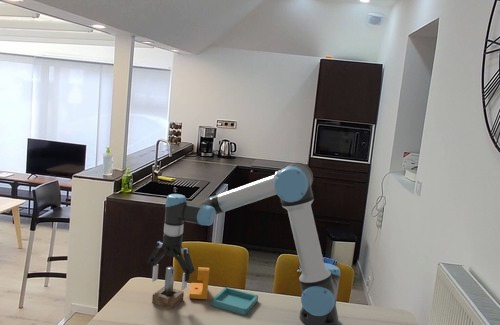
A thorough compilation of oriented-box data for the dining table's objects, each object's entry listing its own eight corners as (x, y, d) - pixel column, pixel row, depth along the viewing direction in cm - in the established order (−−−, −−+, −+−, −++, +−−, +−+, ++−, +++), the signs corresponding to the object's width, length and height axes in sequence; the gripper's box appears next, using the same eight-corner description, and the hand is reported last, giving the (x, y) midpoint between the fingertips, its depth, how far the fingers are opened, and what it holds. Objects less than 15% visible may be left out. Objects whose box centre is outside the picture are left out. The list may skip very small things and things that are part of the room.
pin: (173, 300, 184) (176, 267, 182) (169, 303, 181) (172, 270, 179) (166, 298, 186) (168, 265, 183) (161, 301, 182) (164, 268, 180)
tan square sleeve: (183, 299, 186) (183, 291, 186) (171, 308, 178) (172, 300, 177) (163, 294, 189) (164, 286, 189) (152, 302, 181) (152, 294, 180)
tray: (257, 301, 192) (258, 295, 191) (245, 315, 179) (246, 309, 178) (225, 292, 197) (225, 286, 196) (211, 305, 184) (211, 299, 183)
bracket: (190, 288, 197) (192, 262, 195) (207, 289, 198) (209, 263, 196) (189, 300, 186) (191, 272, 185) (206, 301, 187) (209, 273, 185)
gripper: (205, 237, 178) (201, 288, 182) (151, 224, 186) (147, 273, 190) (197, 242, 171) (192, 295, 175) (140, 229, 179) (137, 280, 183)
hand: (169, 284), depth 182 cm, fingers open, 13 cm apart
